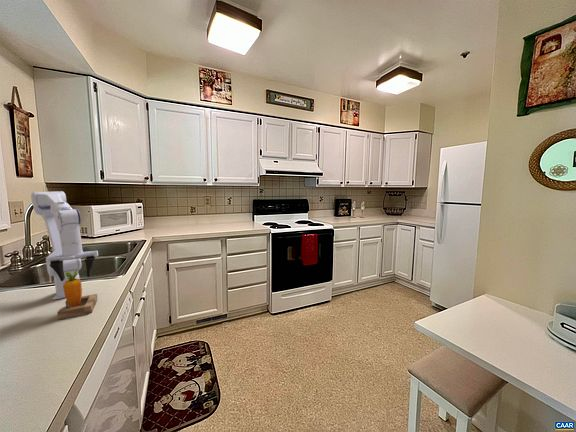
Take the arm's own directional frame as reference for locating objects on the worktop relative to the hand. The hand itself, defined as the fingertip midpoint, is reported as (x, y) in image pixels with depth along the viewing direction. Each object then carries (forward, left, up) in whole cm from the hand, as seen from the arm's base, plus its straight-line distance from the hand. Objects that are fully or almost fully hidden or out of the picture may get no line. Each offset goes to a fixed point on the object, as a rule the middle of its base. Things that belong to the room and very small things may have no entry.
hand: (76, 278), depth 92 cm
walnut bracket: (+5, 0, -10) cm, 11 cm away
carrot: (+5, 0, -11) cm, 12 cm away
